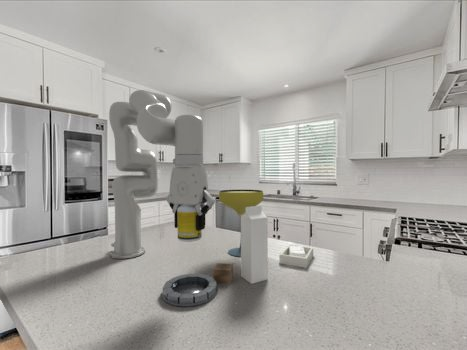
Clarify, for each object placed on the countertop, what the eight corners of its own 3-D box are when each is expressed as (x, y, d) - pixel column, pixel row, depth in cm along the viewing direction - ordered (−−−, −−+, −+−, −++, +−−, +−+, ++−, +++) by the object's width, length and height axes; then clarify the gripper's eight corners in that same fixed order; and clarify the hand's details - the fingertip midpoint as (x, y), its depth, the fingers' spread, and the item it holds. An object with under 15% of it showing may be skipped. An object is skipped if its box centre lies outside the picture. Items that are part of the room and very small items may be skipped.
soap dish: (279, 263, 86) (279, 254, 86) (289, 252, 98) (289, 244, 98) (306, 267, 82) (306, 258, 82) (313, 255, 93) (313, 247, 93)
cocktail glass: (238, 264, 85) (238, 193, 85) (210, 251, 100) (210, 190, 99) (273, 253, 97) (272, 191, 97) (243, 243, 111) (243, 188, 111)
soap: (289, 253, 95) (289, 245, 95) (303, 253, 94) (303, 246, 94) (289, 261, 86) (289, 252, 86) (305, 262, 85) (305, 253, 85)
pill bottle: (196, 243, 62) (196, 197, 61) (173, 242, 63) (173, 197, 63) (204, 236, 68) (204, 195, 68) (183, 235, 69) (183, 195, 69)
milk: (268, 279, 73) (268, 206, 73) (251, 284, 70) (251, 208, 70) (256, 272, 78) (256, 204, 78) (240, 276, 75) (240, 205, 75)
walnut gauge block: (213, 283, 71) (213, 269, 71) (217, 275, 76) (217, 263, 76) (230, 284, 70) (230, 270, 70) (232, 276, 75) (232, 264, 75)
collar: (150, 298, 62) (150, 290, 62) (186, 276, 75) (186, 270, 75) (196, 313, 55) (196, 304, 55) (227, 286, 68) (227, 279, 68)
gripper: (155, 162, 66) (155, 227, 66) (208, 160, 58) (208, 235, 58) (174, 163, 73) (174, 222, 73) (223, 161, 65) (224, 228, 65)
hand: (189, 227), depth 65 cm, fingers closed on pill bottle, 6 cm apart
